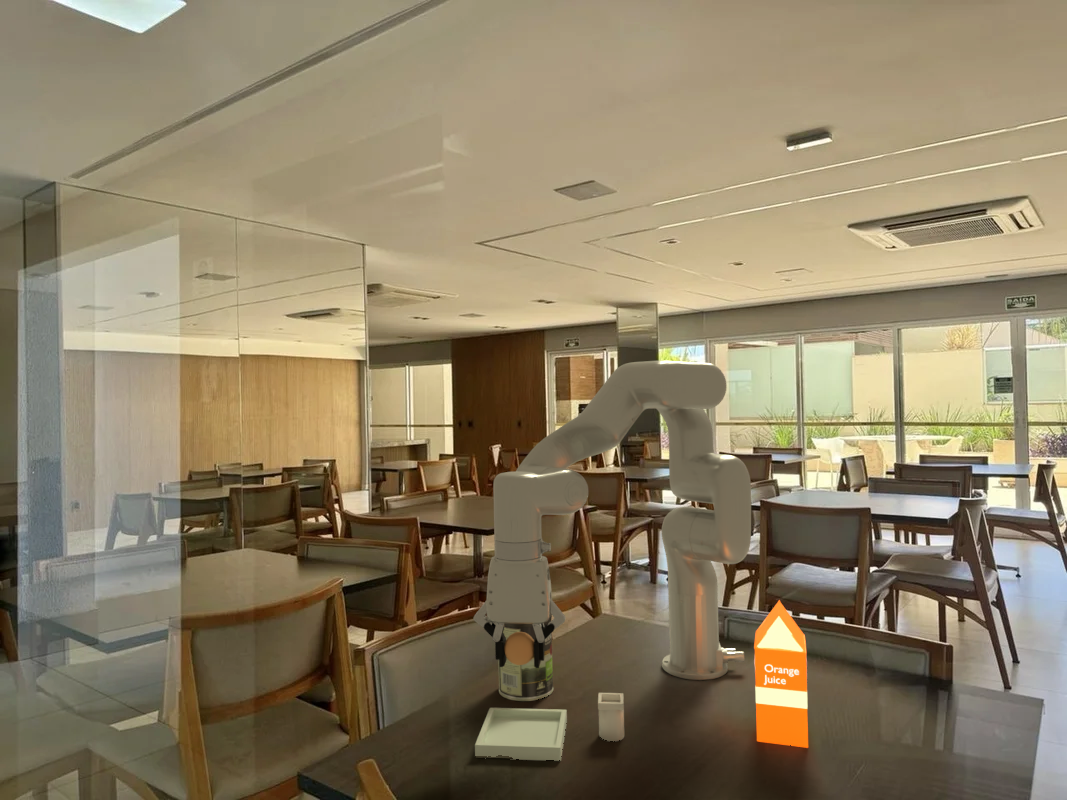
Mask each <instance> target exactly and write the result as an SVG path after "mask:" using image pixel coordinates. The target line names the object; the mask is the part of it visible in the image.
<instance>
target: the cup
mask: <svg viewBox="0 0 1067 800" xmlns="http://www.w3.org/2000/svg"><path fill="white" fill-rule="evenodd" d="M624 700H625V698H624V693H623V692H620V693H619V692H598V697H597V710H598V736H599V738H600V737H601V738H602V739H601V738H600V739H601V740H603V739H604V740H603V741H605V740H607V741H606V742H610V741H613V742H614V741H615V742H619V740H620V741H622V740H624V738H625V705H624V704H625V703H624ZM613 742H612V743H613Z"/></svg>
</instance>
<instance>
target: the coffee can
mask: <svg viewBox="0 0 1067 800" xmlns="http://www.w3.org/2000/svg"><path fill="white" fill-rule="evenodd" d="M552 617H553V615H552V614H550V616H549V620H548V621H547V622H545V623H543V624H544V627H545V626H546V625H547V624H548V623H549V622H551V621H552V620H553V619H552ZM515 632H524V633H527V634H529V635H530V636H531V637H532V639H533V640H534V642H535V638H536V634H535V631H534V628H533V625H532V624H511V623H505V627H504V631H503V633H504V636H505V637H506V640H507V638H508V637H509V636H510V635H511V634H513V633H515ZM552 633H553V632H552ZM552 633H551V634H550V635H549V636H548V637H547V638H546V639H545V640H544V661H541V662H540V666H539V668H535V667H534V657H533V658H532V659H531V661H529V662H528V663H526V664H524V665H516V664H513V663H511V662H510V661H509V660H508V659H507V660H506V663H505V665H504V666H503V667H499V660H497V662H498V693H499V695H500V696H501V697H503V698H505V699H507V700H510V701H515V702H516V701H517V702H532V701H538V699H539V700H542V698H543V699H545V698H548V697H549V696H551V694H552V693H553V691H554V679H553V677H554V676H553V673H554V671H553V669H554V668H553V643H552V642H553V641H552V640H553V635H552ZM548 695H549V696H548ZM544 697H545V698H544Z"/></svg>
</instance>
